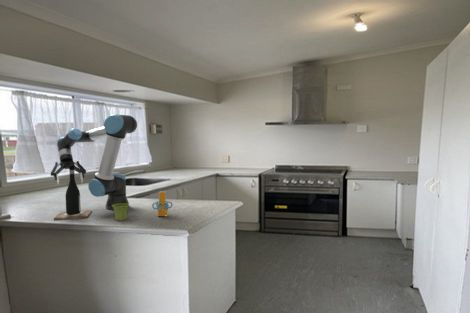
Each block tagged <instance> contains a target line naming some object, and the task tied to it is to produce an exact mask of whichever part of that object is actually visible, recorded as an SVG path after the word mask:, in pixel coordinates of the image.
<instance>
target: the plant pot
mask: <svg viewBox="0 0 470 313" xmlns="http://www.w3.org/2000/svg"><path fill="white" fill-rule="evenodd" d="M112 206H113V209H114V210H113V212H114V213H113V214H114V219H115V221H125V220H127V218H128V217H127V215H128V211H129V210H128V209H129V207H130V203H129V204H126V203H120V204H114V205H112ZM128 206H129V207H128Z"/></svg>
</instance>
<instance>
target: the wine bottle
mask: <svg viewBox="0 0 470 313" xmlns="http://www.w3.org/2000/svg"><path fill="white" fill-rule="evenodd" d="M74 165H75V164H74ZM74 165H69V169H68V170H69V183H68V185H67V188H66V190H65V212H66V213H67V214H68V215H75V214H79V213H80V212H81V211H82V209H81V193H80V189H79V187H78V186H77V183H76V179H75V170H74V168H75V166H76V165H75V166H74Z"/></svg>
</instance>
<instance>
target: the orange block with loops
mask: <svg viewBox="0 0 470 313" xmlns="http://www.w3.org/2000/svg"><path fill="white" fill-rule="evenodd" d="M166 198H167V197H166V191H165V190H160V191H158V201H155V202H153V203H152V205H151V207H152V208H153V210H157V217H159V216H165V215H167V216H168V215H169V214H168V213H169V212H168V211H169V209H171V208H173V202H172V201H168V200H167V199H166ZM169 204H170V206H169ZM154 205H155V206H156V207H155V206H154ZM165 217H166V216H165Z"/></svg>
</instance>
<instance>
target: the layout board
mask: <svg viewBox="0 0 470 313" xmlns="http://www.w3.org/2000/svg"><path fill="white" fill-rule="evenodd" d="M92 211H93V210H92V209H85V210H81V212H80V213H79V214H75V215H68V214H67V213H66V211H60V212H59V213H58V214H57V215H56V216H54V217H53V221H62V220H74V219H75V220H77V219H87V218H89V216H90V215H91V213H92Z"/></svg>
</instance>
